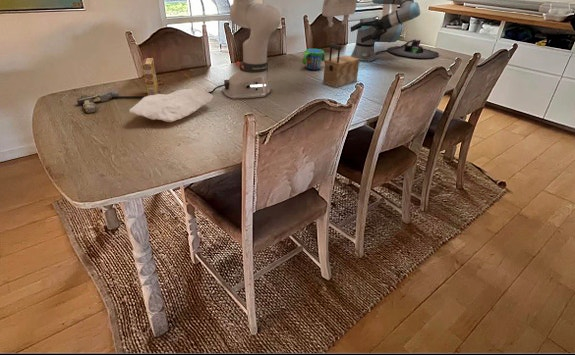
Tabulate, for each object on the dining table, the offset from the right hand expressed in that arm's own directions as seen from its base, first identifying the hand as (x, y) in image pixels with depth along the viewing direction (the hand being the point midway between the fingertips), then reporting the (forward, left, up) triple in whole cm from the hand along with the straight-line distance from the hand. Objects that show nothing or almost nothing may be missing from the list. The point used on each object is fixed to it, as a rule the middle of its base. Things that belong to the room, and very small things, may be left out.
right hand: (356, 35), depth 215 cm
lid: (+39, +3, -6) cm, 39 cm away
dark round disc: (-50, +30, -17) cm, 61 cm away
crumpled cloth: (+113, -47, -17) cm, 124 cm away
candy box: (+100, -69, -17) cm, 122 cm away
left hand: (+45, 0, +12) cm, 46 cm away
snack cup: (+22, -18, -17) cm, 33 cm away
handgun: (+118, -80, -17) cm, 144 cm away
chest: (+38, +3, -17) cm, 42 cm away
